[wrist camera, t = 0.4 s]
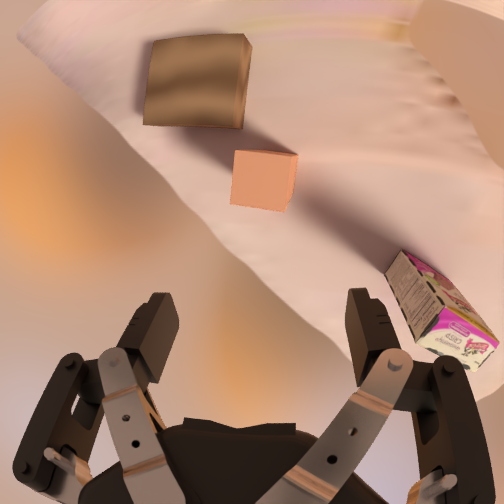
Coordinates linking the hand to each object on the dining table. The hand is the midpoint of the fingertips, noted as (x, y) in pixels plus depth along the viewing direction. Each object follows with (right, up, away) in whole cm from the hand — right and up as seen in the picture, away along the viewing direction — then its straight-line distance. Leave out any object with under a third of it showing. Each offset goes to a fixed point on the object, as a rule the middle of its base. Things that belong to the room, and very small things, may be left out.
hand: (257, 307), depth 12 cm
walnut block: (-7, +25, +21) cm, 33 cm away
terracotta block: (+3, +13, +23) cm, 27 cm away
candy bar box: (+24, -1, +24) cm, 34 cm away
